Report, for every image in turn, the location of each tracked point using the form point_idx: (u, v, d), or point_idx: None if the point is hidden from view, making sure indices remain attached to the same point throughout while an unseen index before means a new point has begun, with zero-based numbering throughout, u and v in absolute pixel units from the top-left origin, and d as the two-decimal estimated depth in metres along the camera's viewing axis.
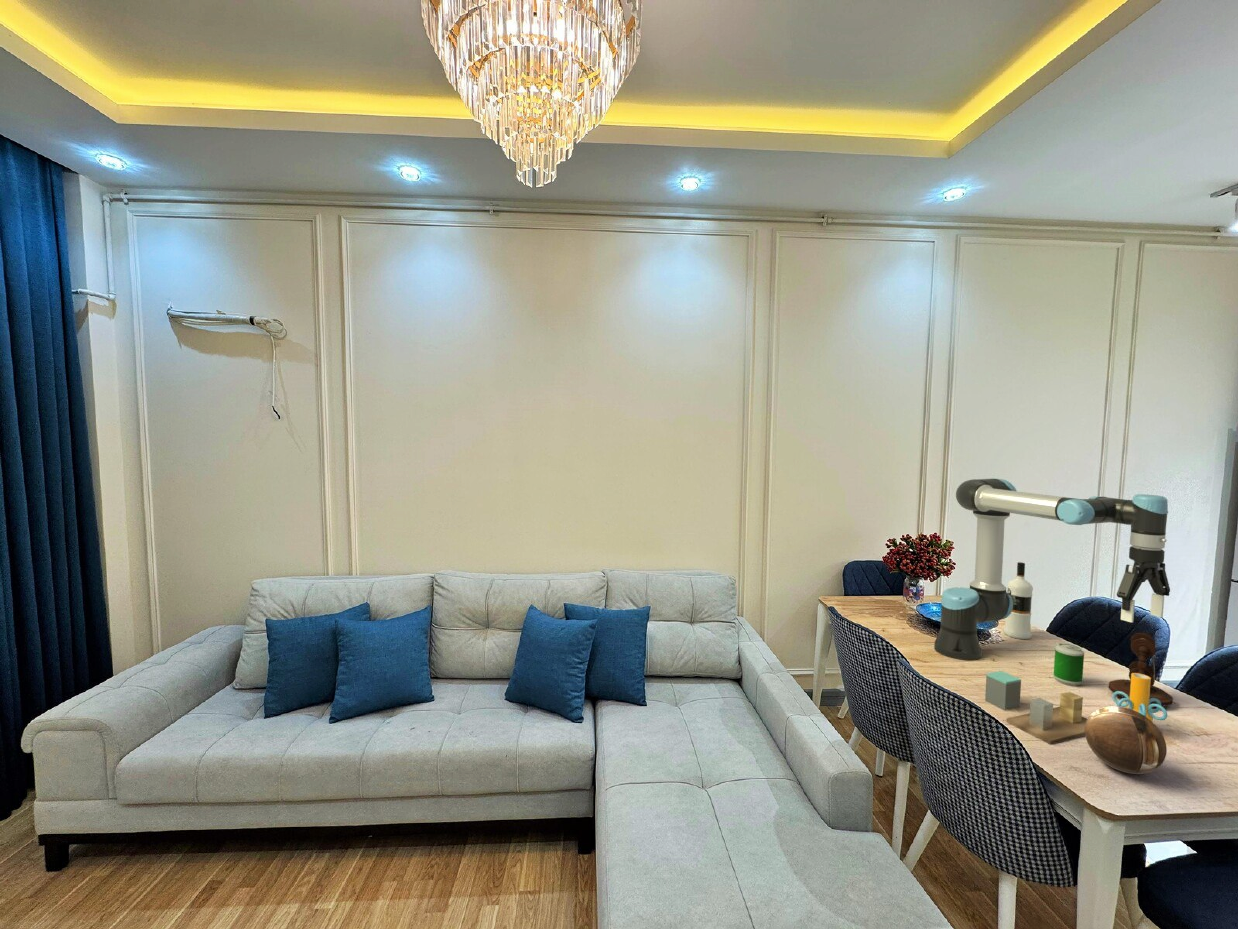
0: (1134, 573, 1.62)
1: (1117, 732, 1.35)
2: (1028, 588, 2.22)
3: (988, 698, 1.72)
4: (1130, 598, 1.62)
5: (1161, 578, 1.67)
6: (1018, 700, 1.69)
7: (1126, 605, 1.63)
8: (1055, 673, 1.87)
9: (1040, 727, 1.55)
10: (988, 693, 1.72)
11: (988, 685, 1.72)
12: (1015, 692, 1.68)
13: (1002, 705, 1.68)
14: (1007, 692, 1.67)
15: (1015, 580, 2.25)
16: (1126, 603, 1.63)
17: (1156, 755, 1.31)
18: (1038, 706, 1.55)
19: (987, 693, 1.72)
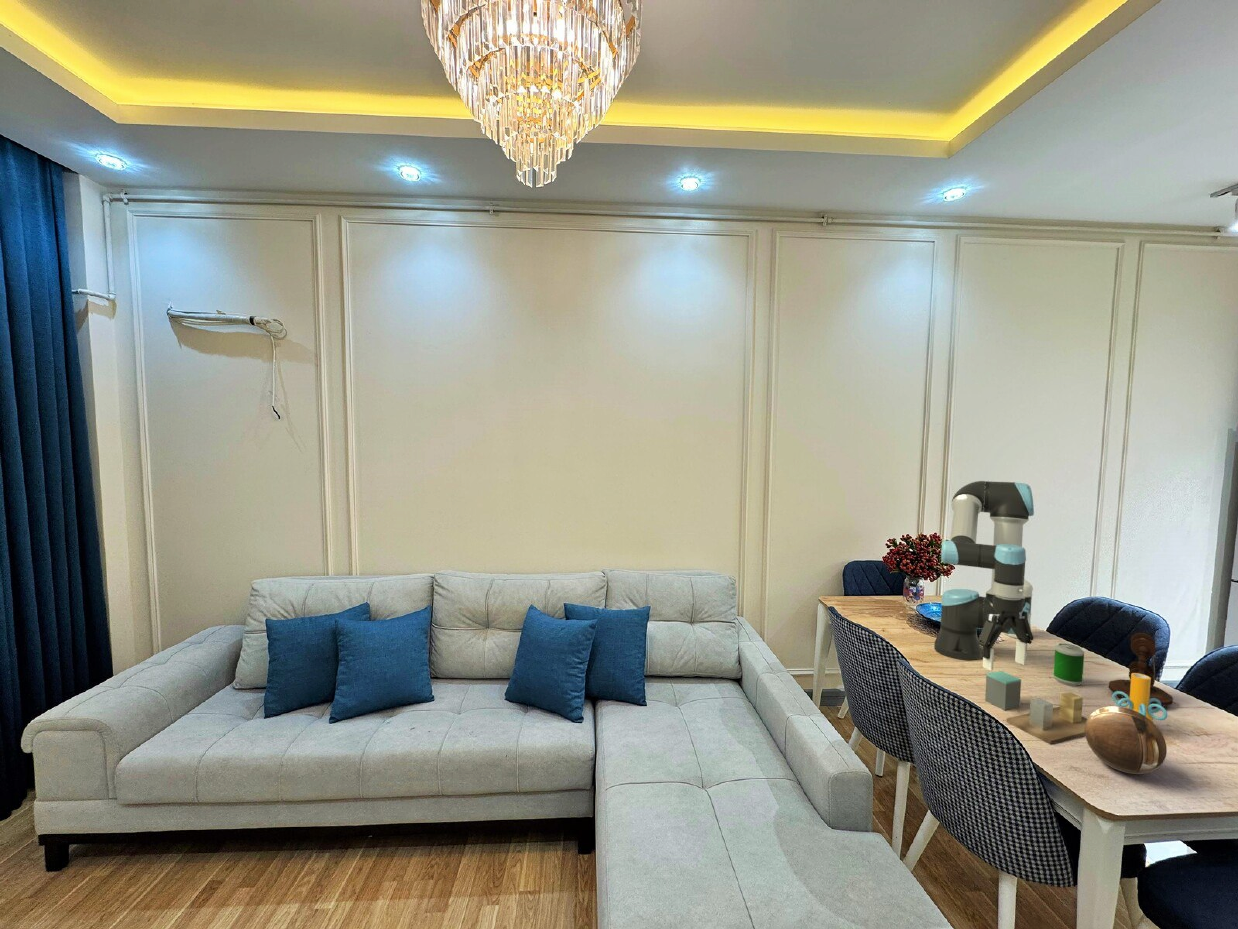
0: (993, 622, 1.66)
1: (1117, 732, 1.35)
2: (1028, 588, 2.22)
3: (988, 698, 1.72)
4: (989, 647, 1.66)
5: (1024, 626, 1.71)
6: (1018, 700, 1.69)
7: (986, 653, 1.67)
8: (1055, 673, 1.87)
9: (1040, 727, 1.55)
10: (988, 693, 1.72)
11: (988, 685, 1.72)
12: (1015, 692, 1.68)
13: (1002, 705, 1.68)
14: (1007, 692, 1.67)
15: None
16: (986, 651, 1.67)
17: (1156, 755, 1.31)
18: (1038, 706, 1.55)
19: (987, 693, 1.72)
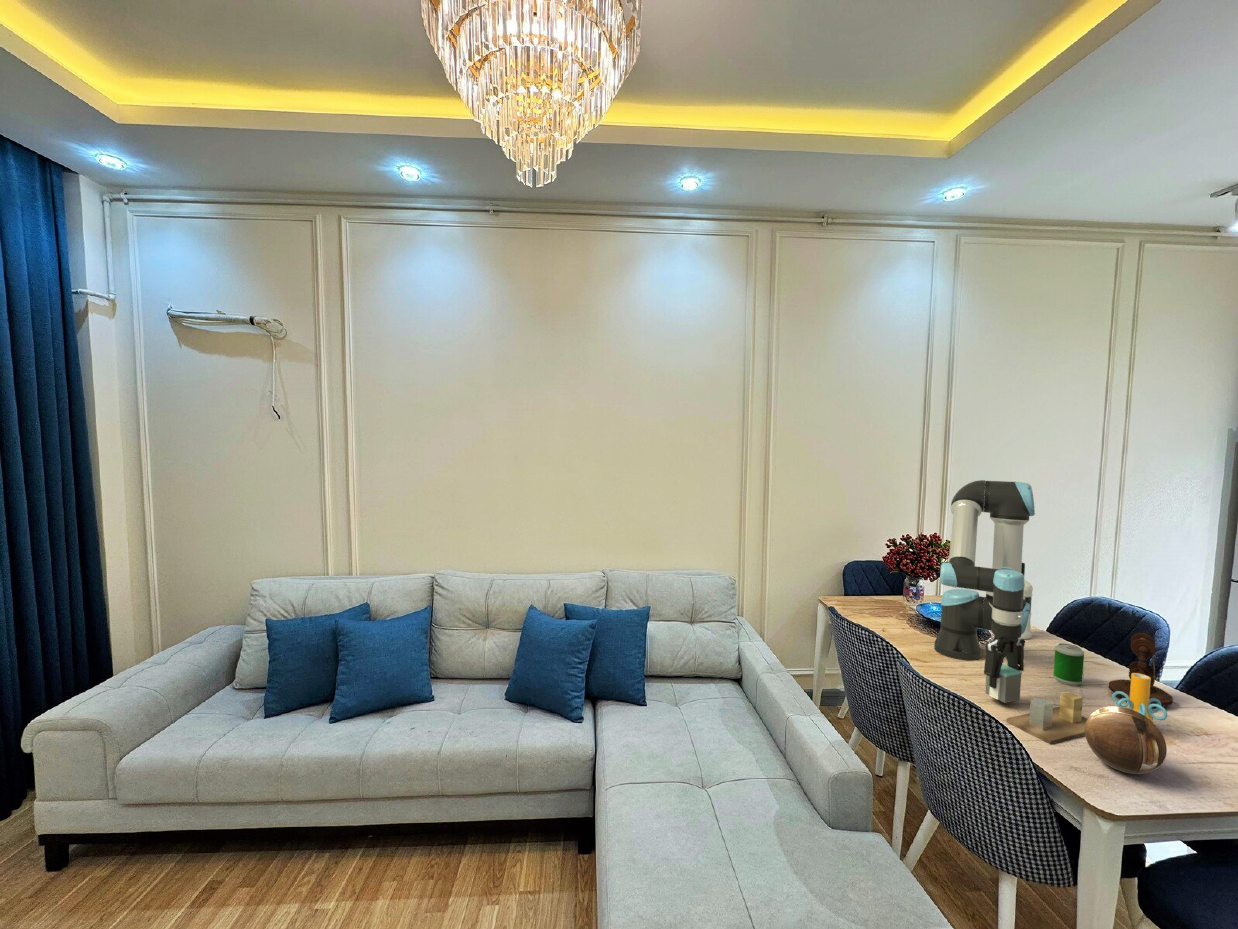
0: (993, 652, 1.67)
1: (1117, 732, 1.35)
2: (1028, 588, 2.22)
3: (988, 691, 1.72)
4: (996, 677, 1.68)
5: (1018, 655, 1.72)
6: (1018, 692, 1.69)
7: (992, 683, 1.69)
8: (1055, 673, 1.87)
9: (1040, 727, 1.55)
10: (988, 686, 1.72)
11: (988, 678, 1.72)
12: (1015, 685, 1.69)
13: (1002, 697, 1.68)
14: (1007, 685, 1.67)
15: None
16: (992, 681, 1.69)
17: (1156, 755, 1.31)
18: (1038, 706, 1.55)
19: (987, 686, 1.73)
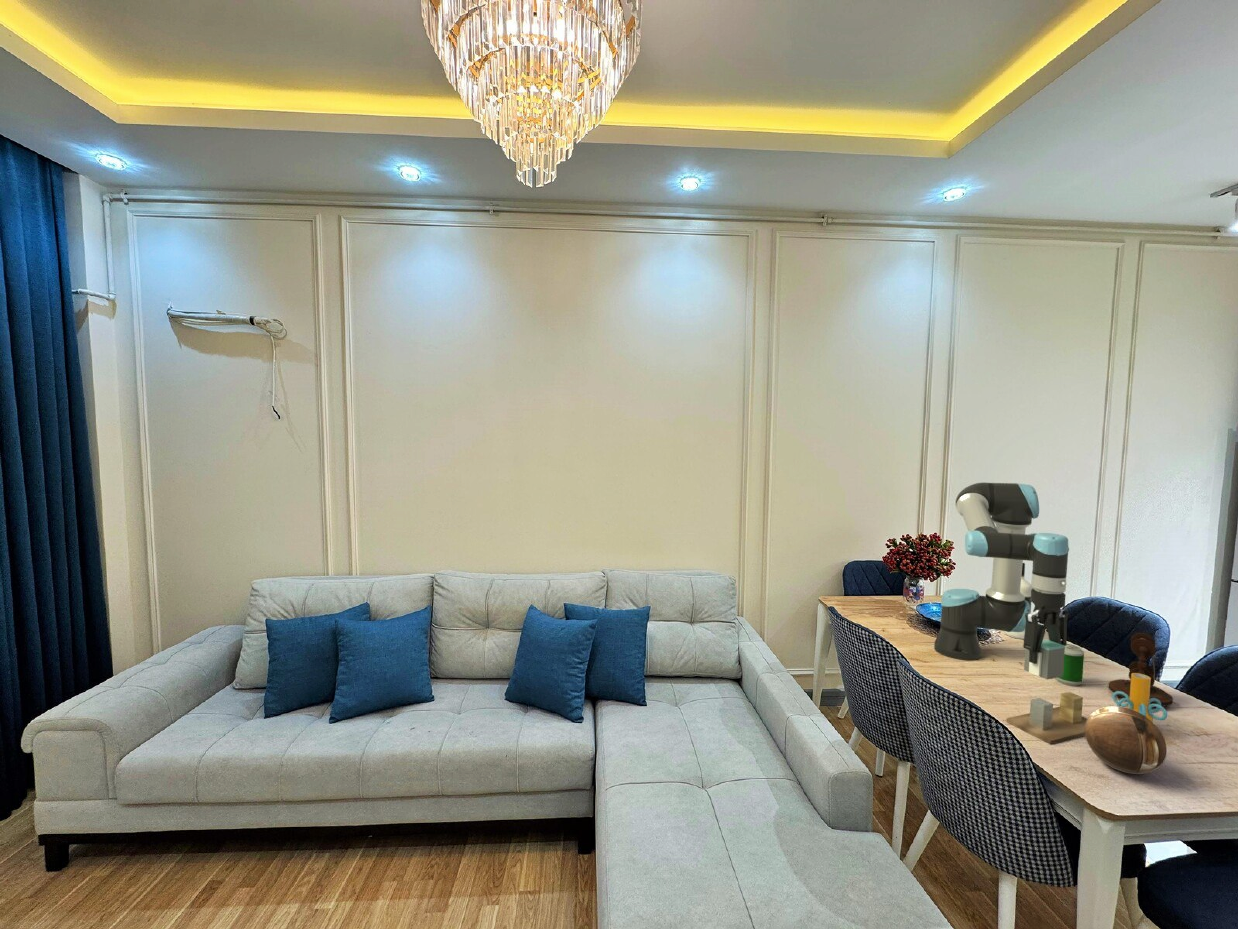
0: (1034, 623, 1.51)
1: (1117, 732, 1.35)
2: (1028, 588, 2.22)
3: (1027, 667, 1.56)
4: (1037, 651, 1.52)
5: (1061, 627, 1.56)
6: (1061, 668, 1.53)
7: (1033, 658, 1.53)
8: None
9: (1040, 727, 1.55)
10: (1027, 661, 1.56)
11: (1027, 653, 1.56)
12: (1058, 660, 1.53)
13: (1044, 674, 1.52)
14: (1050, 659, 1.52)
15: None
16: (1033, 656, 1.53)
17: (1156, 755, 1.31)
18: (1038, 706, 1.55)
19: (1026, 661, 1.57)
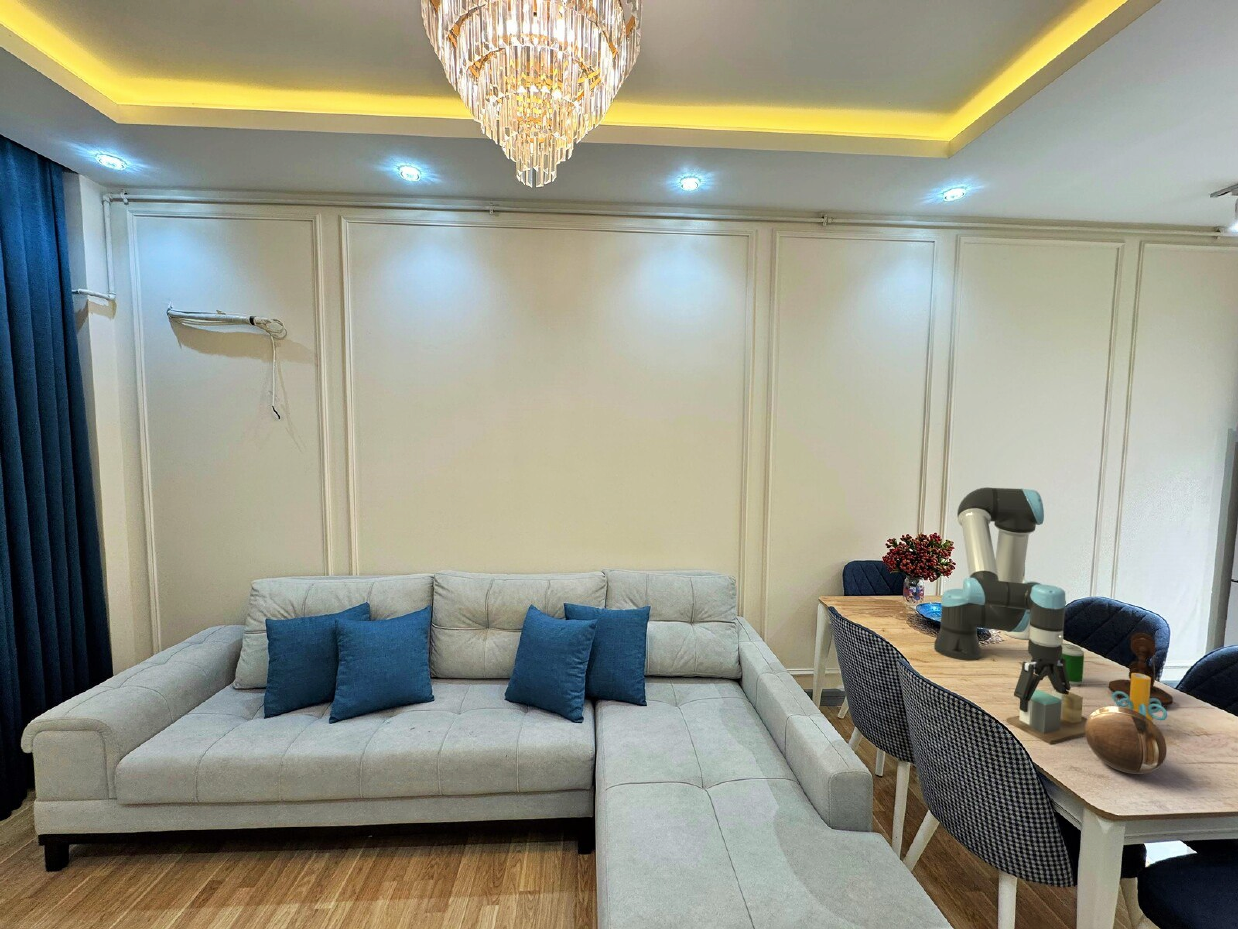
0: (1030, 672, 1.52)
1: (1117, 732, 1.35)
2: None
3: None
4: (1027, 699, 1.52)
5: (1061, 674, 1.57)
6: (1058, 722, 1.54)
7: (1023, 706, 1.53)
8: None
9: None
10: None
11: None
12: (1055, 714, 1.54)
13: (1041, 728, 1.53)
14: (1047, 714, 1.53)
15: None
16: (1023, 704, 1.53)
17: (1156, 755, 1.31)
18: None
19: None
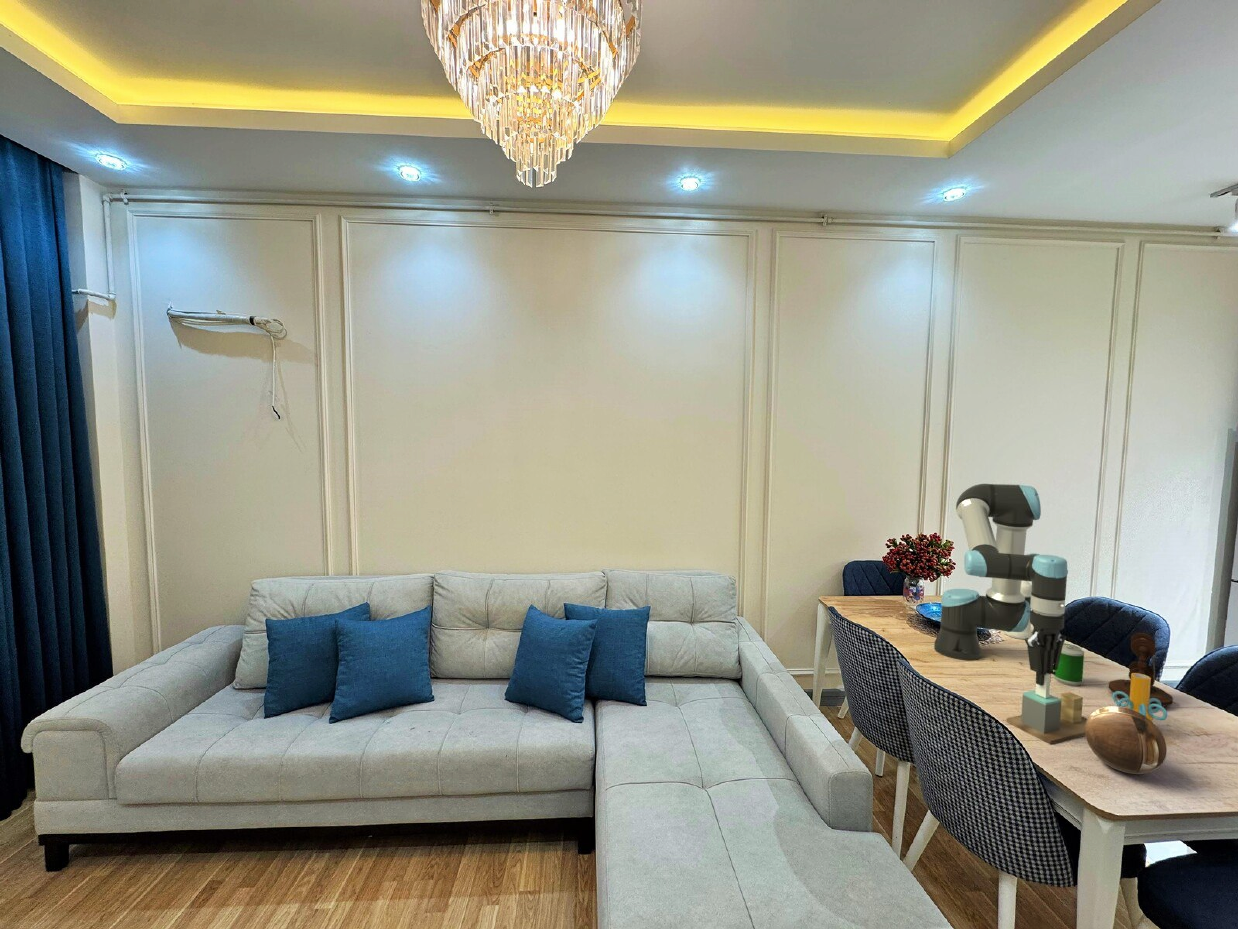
0: (1035, 648, 1.52)
1: (1117, 732, 1.35)
2: (1028, 588, 2.22)
3: (1025, 720, 1.58)
4: (1044, 673, 1.54)
5: (1055, 651, 1.56)
6: (1058, 722, 1.54)
7: (1040, 680, 1.55)
8: None
9: None
10: (1025, 714, 1.58)
11: (1025, 705, 1.57)
12: (1055, 714, 1.54)
13: (1041, 728, 1.53)
14: (1047, 714, 1.53)
15: None
16: (1040, 677, 1.55)
17: (1156, 755, 1.31)
18: None
19: (1023, 714, 1.58)
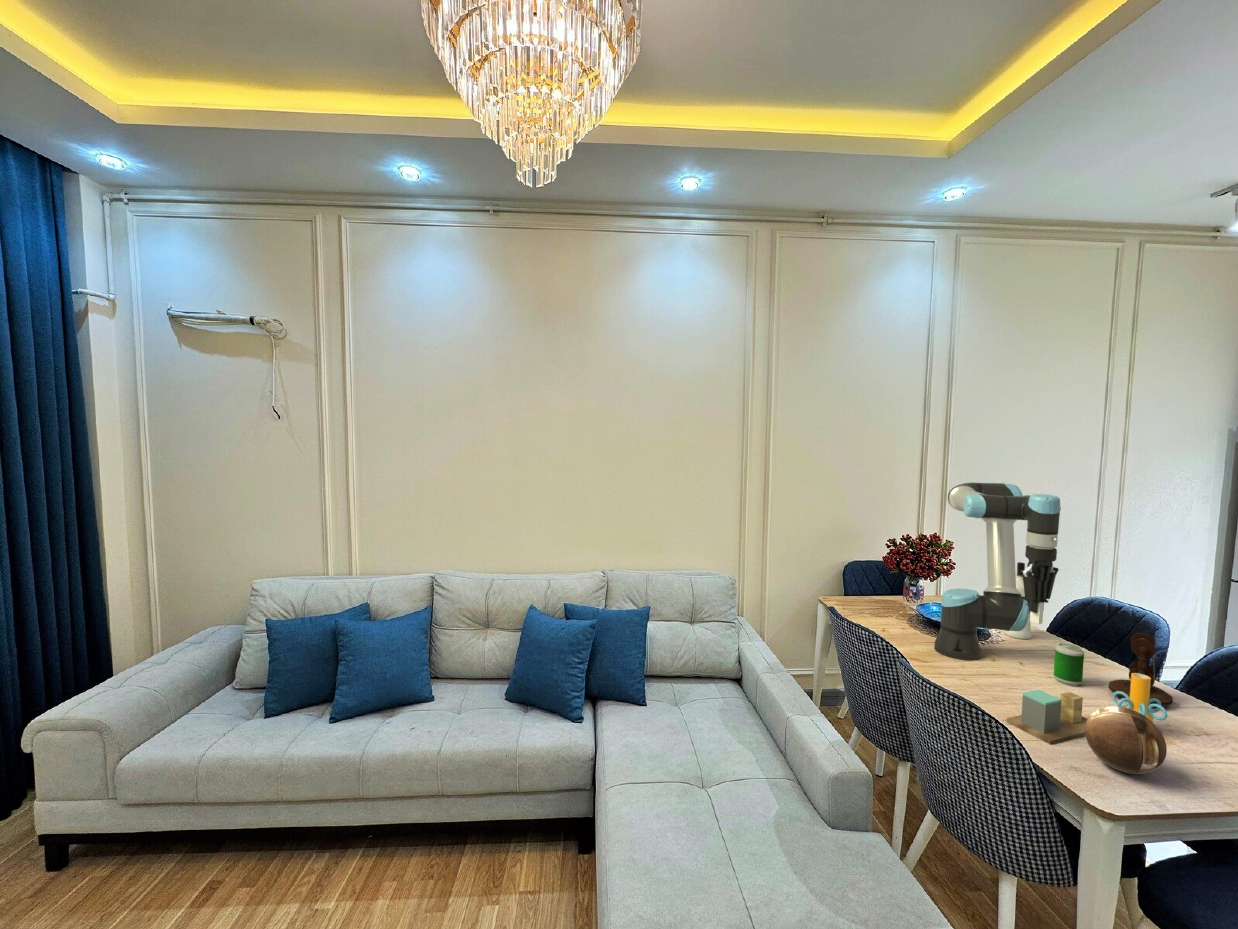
0: (1030, 578, 1.67)
1: (1117, 732, 1.35)
2: None
3: (1025, 720, 1.58)
4: (1037, 602, 1.69)
5: (1048, 582, 1.71)
6: (1058, 722, 1.54)
7: (1034, 607, 1.70)
8: (1055, 673, 1.87)
9: None
10: (1025, 714, 1.58)
11: (1025, 705, 1.57)
12: (1055, 714, 1.54)
13: (1041, 728, 1.53)
14: (1047, 714, 1.53)
15: None
16: (1034, 606, 1.70)
17: (1156, 755, 1.31)
18: None
19: (1023, 714, 1.58)
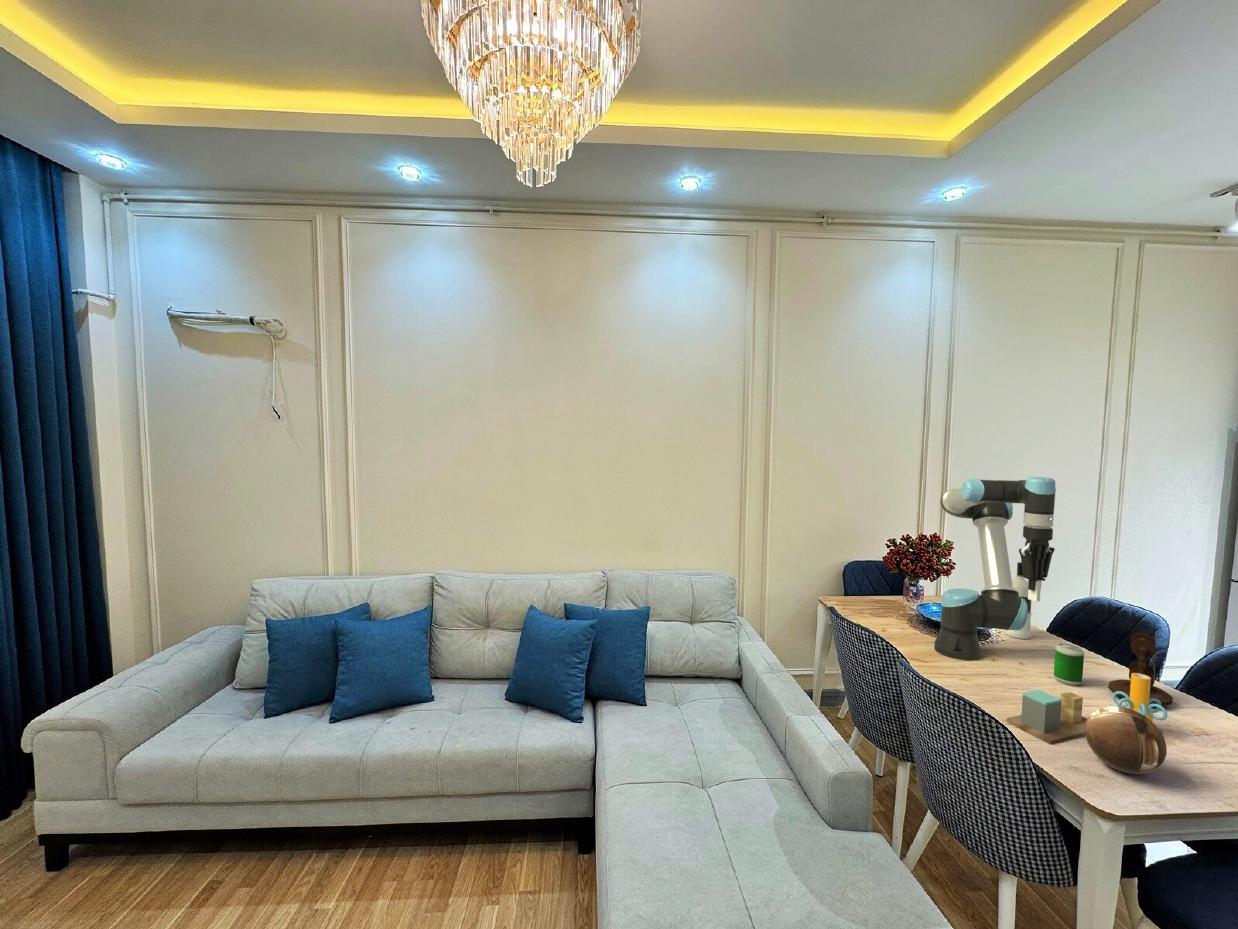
0: (1027, 556, 1.75)
1: (1117, 732, 1.35)
2: None
3: (1025, 720, 1.58)
4: (1035, 580, 1.76)
5: (1045, 561, 1.78)
6: (1058, 722, 1.54)
7: (1031, 585, 1.77)
8: (1055, 673, 1.87)
9: None
10: (1025, 714, 1.58)
11: (1025, 705, 1.57)
12: (1055, 714, 1.54)
13: (1041, 728, 1.53)
14: (1047, 714, 1.53)
15: (1015, 580, 2.25)
16: (1031, 583, 1.77)
17: (1156, 755, 1.31)
18: None
19: (1023, 714, 1.58)
